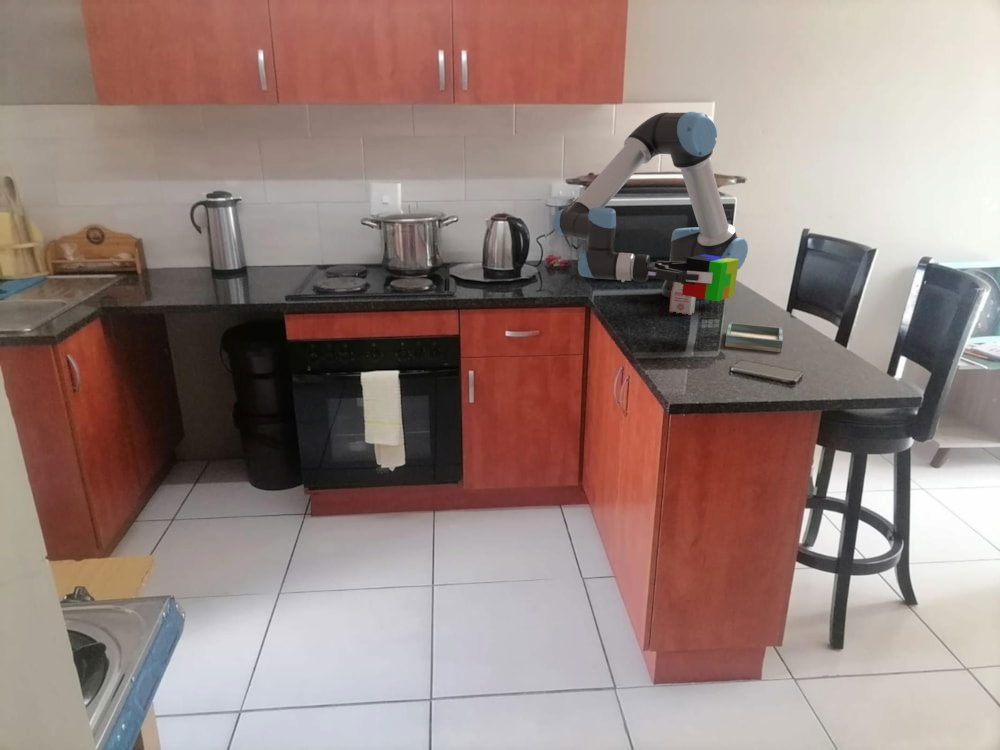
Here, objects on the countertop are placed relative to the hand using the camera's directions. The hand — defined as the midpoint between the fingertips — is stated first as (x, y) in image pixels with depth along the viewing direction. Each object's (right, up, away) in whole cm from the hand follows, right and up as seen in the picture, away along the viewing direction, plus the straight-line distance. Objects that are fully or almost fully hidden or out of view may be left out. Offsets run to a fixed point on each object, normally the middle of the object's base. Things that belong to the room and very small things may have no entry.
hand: (714, 273), depth 189 cm
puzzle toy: (-1, -6, +2) cm, 6 cm away
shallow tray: (+11, -18, +2) cm, 22 cm away
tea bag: (0, -8, +32) cm, 33 cm away
